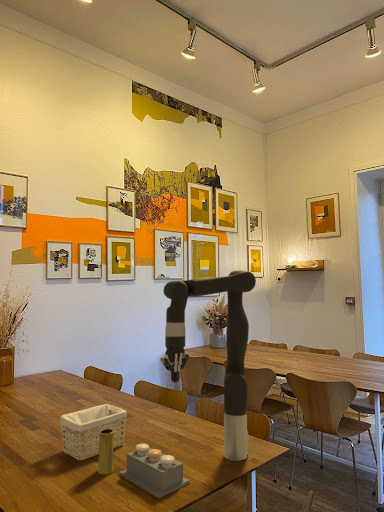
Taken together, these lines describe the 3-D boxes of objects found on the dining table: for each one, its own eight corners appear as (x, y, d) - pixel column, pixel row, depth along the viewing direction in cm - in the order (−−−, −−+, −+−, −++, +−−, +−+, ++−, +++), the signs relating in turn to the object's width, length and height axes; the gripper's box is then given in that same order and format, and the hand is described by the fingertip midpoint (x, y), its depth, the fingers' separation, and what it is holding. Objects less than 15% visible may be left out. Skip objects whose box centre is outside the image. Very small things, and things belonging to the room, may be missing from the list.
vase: (115, 467, 143) (116, 428, 144) (112, 475, 137) (113, 434, 138) (99, 467, 142) (100, 428, 144) (95, 475, 136) (96, 434, 138)
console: (149, 462, 147) (150, 443, 147) (189, 483, 131) (189, 462, 132) (119, 474, 137) (120, 454, 137) (158, 498, 121) (159, 475, 122)
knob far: (143, 464, 142) (143, 442, 143) (151, 468, 139) (151, 446, 140) (132, 468, 139) (133, 446, 140) (140, 473, 136) (141, 450, 136)
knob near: (167, 477, 132) (167, 453, 133) (176, 482, 129) (177, 458, 130) (157, 482, 129) (157, 458, 130) (166, 487, 126) (166, 462, 126)
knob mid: (154, 470, 137) (155, 448, 138) (163, 475, 134) (163, 452, 135) (144, 475, 134) (144, 452, 135) (153, 480, 131) (153, 456, 131)
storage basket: (78, 464, 145) (79, 424, 147) (57, 451, 156) (58, 415, 158) (127, 445, 163) (128, 410, 164) (105, 435, 174) (106, 402, 175)
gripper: (181, 332, 149) (181, 377, 147) (155, 334, 139) (154, 383, 138) (194, 333, 143) (194, 380, 142) (168, 336, 134) (168, 386, 132)
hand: (175, 381), depth 140 cm, fingers closed
